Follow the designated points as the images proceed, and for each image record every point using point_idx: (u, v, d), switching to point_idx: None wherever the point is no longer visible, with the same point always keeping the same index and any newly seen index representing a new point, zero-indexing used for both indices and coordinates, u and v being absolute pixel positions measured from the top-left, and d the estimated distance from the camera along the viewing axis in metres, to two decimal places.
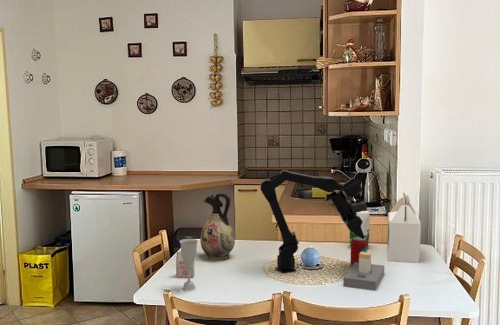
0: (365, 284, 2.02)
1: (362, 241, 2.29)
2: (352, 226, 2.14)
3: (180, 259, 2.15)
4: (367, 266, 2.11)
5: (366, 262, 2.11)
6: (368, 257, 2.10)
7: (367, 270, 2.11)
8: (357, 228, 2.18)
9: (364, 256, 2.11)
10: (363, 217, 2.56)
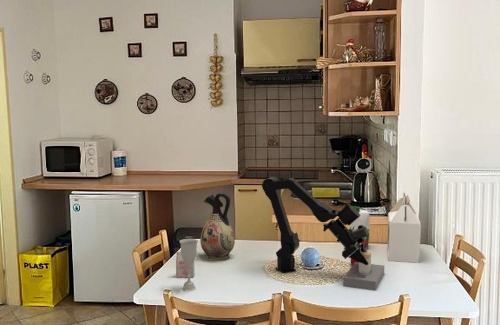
0: (365, 284, 2.02)
1: (362, 241, 2.29)
2: (347, 255, 2.06)
3: (180, 259, 2.15)
4: (367, 266, 2.11)
5: None
6: (368, 257, 2.10)
7: (367, 270, 2.11)
8: (357, 254, 2.10)
9: (364, 256, 2.11)
10: (363, 217, 2.56)
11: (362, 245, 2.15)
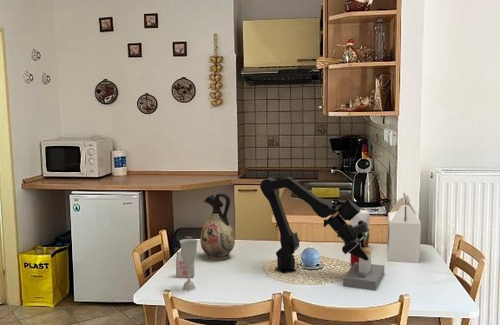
0: (365, 284, 2.02)
1: None
2: (347, 250, 2.06)
3: (180, 259, 2.15)
4: (367, 262, 2.10)
5: None
6: (368, 253, 2.10)
7: (367, 266, 2.11)
8: (358, 250, 2.10)
9: (364, 251, 2.10)
10: (363, 217, 2.56)
11: (362, 241, 2.15)
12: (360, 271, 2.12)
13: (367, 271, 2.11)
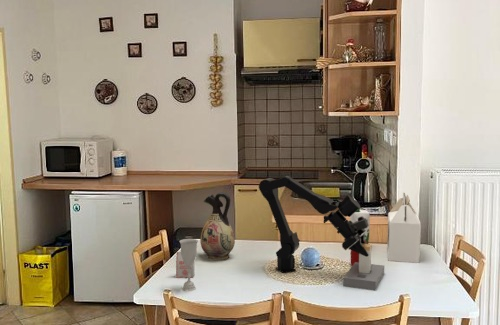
0: (365, 284, 2.02)
1: None
2: (347, 246, 2.05)
3: (180, 259, 2.15)
4: (367, 258, 2.10)
5: None
6: (368, 249, 2.10)
7: (367, 262, 2.10)
8: (358, 246, 2.10)
9: None
10: None
11: (362, 237, 2.15)
12: (360, 267, 2.12)
13: (367, 267, 2.11)
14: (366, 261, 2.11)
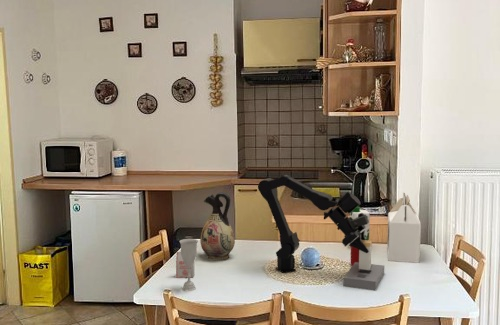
0: (365, 284, 2.02)
1: None
2: (347, 243, 2.05)
3: (180, 259, 2.15)
4: (367, 254, 2.10)
5: None
6: (368, 245, 2.10)
7: (367, 258, 2.10)
8: (358, 242, 2.10)
9: (365, 244, 2.10)
10: None
11: (362, 233, 2.15)
12: (360, 264, 2.12)
13: (367, 264, 2.11)
14: (366, 257, 2.10)
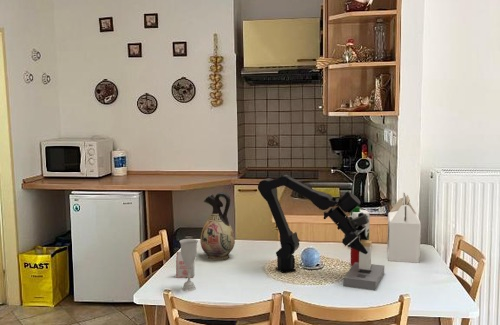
0: (365, 284, 2.02)
1: None
2: (347, 242, 2.05)
3: (180, 259, 2.15)
4: (367, 254, 2.10)
5: None
6: (368, 245, 2.10)
7: (367, 258, 2.10)
8: (357, 243, 2.07)
9: (365, 244, 2.10)
10: None
11: (363, 231, 2.17)
12: (360, 263, 2.12)
13: (367, 263, 2.10)
14: (366, 257, 2.10)
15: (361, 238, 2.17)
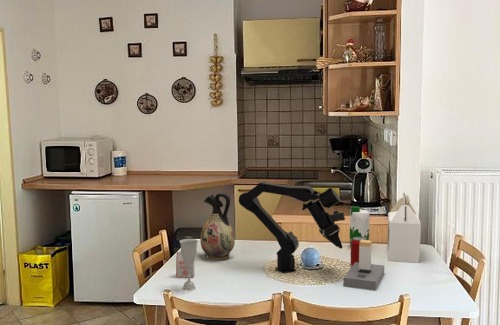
0: (365, 284, 2.02)
1: None
2: (329, 233, 2.09)
3: (180, 259, 2.15)
4: (367, 254, 2.10)
5: (366, 250, 2.10)
6: (368, 245, 2.10)
7: (367, 258, 2.10)
8: (335, 237, 2.13)
9: (365, 244, 2.10)
10: (363, 217, 2.56)
11: None
12: (360, 263, 2.12)
13: (367, 263, 2.10)
14: (366, 257, 2.10)
15: None
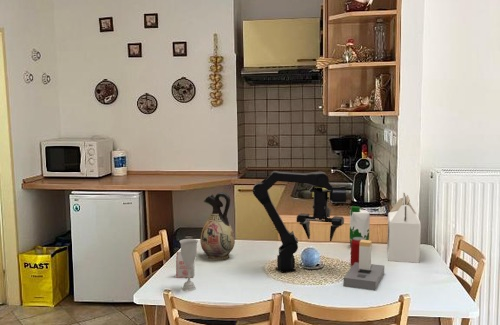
0: (365, 284, 2.02)
1: None
2: (341, 223, 2.18)
3: (180, 259, 2.15)
4: (367, 254, 2.10)
5: (366, 250, 2.10)
6: (368, 245, 2.10)
7: (367, 258, 2.10)
8: None
9: (365, 244, 2.10)
10: (363, 217, 2.56)
11: (309, 222, 2.27)
12: (360, 263, 2.12)
13: (367, 263, 2.10)
14: (366, 257, 2.10)
15: (308, 227, 2.25)
